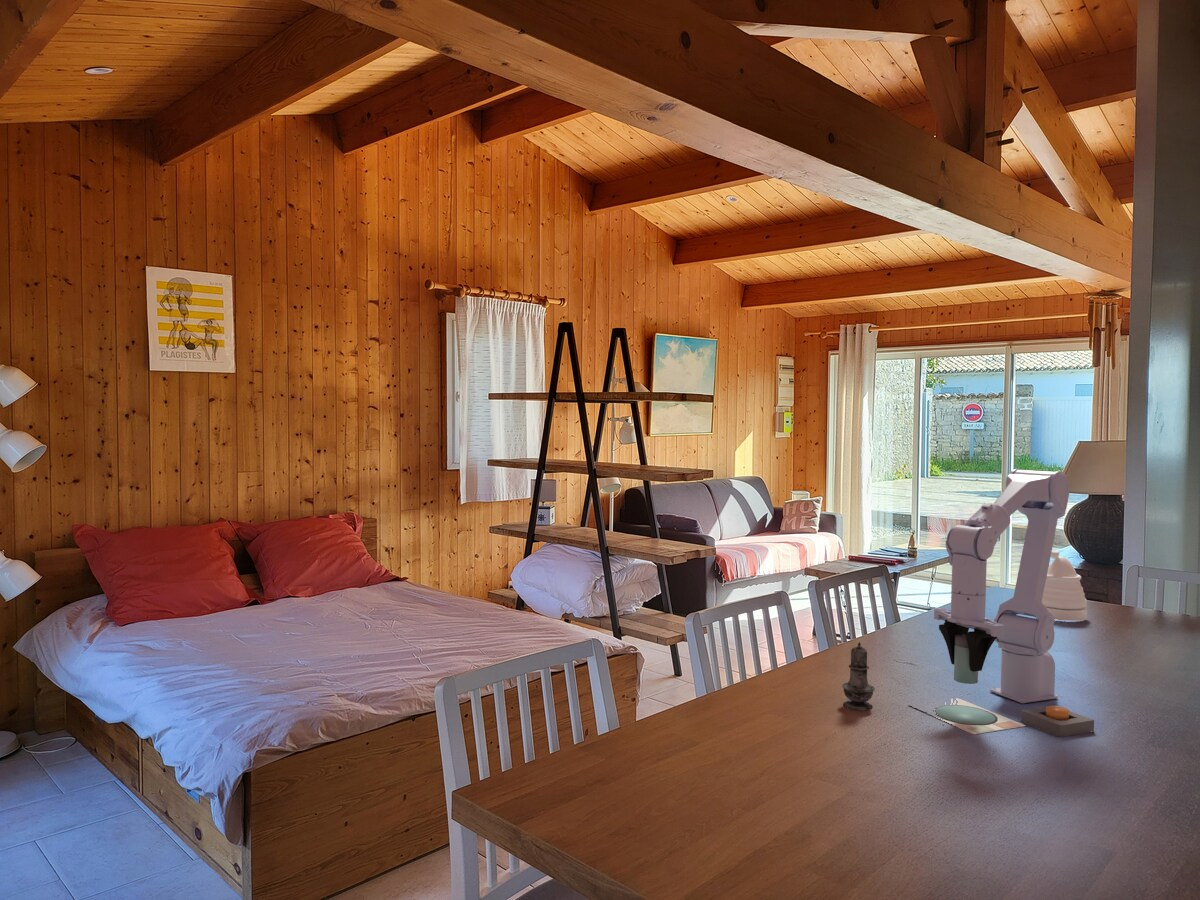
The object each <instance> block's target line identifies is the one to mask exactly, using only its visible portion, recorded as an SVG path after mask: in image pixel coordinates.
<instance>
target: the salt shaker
mask: <svg viewBox="0 0 1200 900" xmlns="http://www.w3.org/2000/svg"><path fill="white" fill-rule="evenodd" d="M861 645H862V644H861V642H860V641H858V643H857V645H856V646H854V647H853V648H851V650H850V664H848V668H850V672H849V680H848V682H845V683H844V682H843V684H842V685H841V687H842V689H843V693H844V696H845V697H846V698H847V700H846V701H844V702H843V707H845V708H846V709H849V710H852V711H858V710H861V711H862V710H863V711H864V710H867V711H870V709H871V710H872V709H873V707H874V706H873V704H871V703H870V702H868V701H870V700H871V699H872V697H873V695H874V692H875V689H876V688H875V687H874V686H873V685H872V684H870V683H869V681H868V670H869V669H870V666H868V651H867V649H866V648H864V647H863V646H861ZM861 711H860V712H861ZM863 711H862V712H863Z"/></svg>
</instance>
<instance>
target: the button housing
mask: <svg viewBox="0 0 1200 900" xmlns="http://www.w3.org/2000/svg"><path fill="white" fill-rule="evenodd" d="M1046 707H1047V706H1043V707H1035V708H1030V709H1023V710H1021V711H1020V712H1021V714H1020V723H1022V724H1023V723H1024V724H1025V725H1028V726H1031V727H1034V728H1036V729H1039V730H1041V731H1043V732H1046V733H1048V734H1050V735H1053V736H1056V737H1058V738H1062V737H1063V738H1064V737H1068V736H1073V735H1075V736H1076V735H1081V734H1086V733H1092V732H1091V731H1093V732H1095V719H1093V718H1090V717H1087V716H1085V715H1083V714H1079V713H1077V712H1074V711H1071V710H1069V719H1067V720H1061V721H1058V720H1056V719H1053V718H1050V717H1048V716H1046Z"/></svg>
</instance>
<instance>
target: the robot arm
mask: <svg viewBox="0 0 1200 900" xmlns="http://www.w3.org/2000/svg"><path fill="white" fill-rule="evenodd" d="M1070 490H1071V487H1070V484H1069V479H1068V477H1067V475H1066V474H1065V473H1064V472H1063V471H1062V470H1057V471H1048V470H1033V469H1032V470H1031V469H1029V470H1028V469H1020V468H1014V469H1012V470H1011V471H1010V472H1009V474H1008V475H1006V478H1005V488H1004V490H1003V491H1001V493H1000V494H999V496H998V497H997V499H995V501H994V502H988V503H987V502H986V503H983V504H982V505H981V506H980V508H979V509H978V510H977V511H976V512H975V513H974V514H973V515H972V516H971V517H969V518H968V520H967V521H966V522H965V523H964V524H957V525H954V527H952V528H950V530H949V531H948V533H947V536H946V539H945V549H946V552H947V554H948V562H949V565H950V566H951V590H950V591H951V595H950V596H951V597H950V600H951V601H950V609H948V608H944V607H939V608H938V607H937V608H934V612H933V613H934V614H933V619H934V620H937V621H940V620H941V621H944V622H943V624H939V625H938V630H939V632H940V633H941V635H942V637H943V639H944V642H945V644H946V646H947V651H948V656H949V660H950V663H951V665H953V666H954V653H955V635H956V634H965V637H966V640H967V643H968V648H969V666H970V671H973V672H975V671H978V672H982V671H983V668H984V663H985V661H986V658H987V655H988V652H989V650H990V648H991V647H992V646H993V643H994V642H995V643H997V645H998V646H997V647H998V648H999V649H1001V657H1000V658H1001V660H1000V661H1001V663H1000V687H994V688H990V689H989V690H990V692H991V693H994V694H996V695H999V696H1001V697H1005V698H1007V699H1009V700H1013V701H1015V702H1016V703H1017V702H1018V703H1020V704H1026V703H1028V704H1029V703H1033V702H1034V703H1035V702H1040V701H1047V700H1055V699H1058V698H1059V695H1057V694H1055V687H1056V685H1055V683H1056V682H1055V681H1056V678H1055V677H1056V663H1055V659H1054V658H1053V657H1054V656H1053V655H1052V654H1051V653H1050V652H1049V650H1050V649H1052V647H1053V645H1054V643H1055V642H1054V641H1055V622H1056V621H1055V620H1054V619H1055V617H1054V616H1053V614H1052V613H1051V612H1050V611H1049V610H1048V609H1047V608H1046V607H1045V606H1044V605H1043V603H1042V599H1043V594H1044V589H1045V584H1046V578H1047V573H1048V568H1049V565H1050V564H1051V562H1050V561H1051V552H1052V551H1053V546H1054V541H1055V535H1056V532H1057V531H1056V530H1057V525H1058V520H1059V519H1061V518H1063V517H1065V516H1066V511H1067V508H1068V501H1069V497H1070V493H1071V491H1070ZM1016 511H1018V512H1019V513H1021V514H1022V515H1024V516H1026V518H1027V527H1026V532H1025V535H1024V536H1025V537H1024V541H1023V545H1022V546H1023V548H1022V552H1021V557H1020V560H1019V561H1020V562H1019V566H1018V567H1019V568H1018V572H1017V577H1016V582H1015V586H1014V593H1013V597H1011V598H1009V599H1008V600H1006V601H1004V602H1002V603H1000V604H999V606H998V610H997V612H996V615H995V617H994V619H993V620H992V619H991V618H988V617H986V602H987V601H986V599H987V598H986V597H987V594H986V591H987V560H988V559H989V558H991V557H992V556H993V553H994V551H995V550H994V549H995V546H996V544H997V542H998V538H999V537H1000V536H1001V535H1002V534H1003V533H1004V532H1005V531H1006V530H1007V528H1008V527H1009V526H1010V524H1011V518H1010V517H1011V516H1012V515H1013V514H1014V513H1016ZM969 630H972V631H969Z"/></svg>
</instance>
